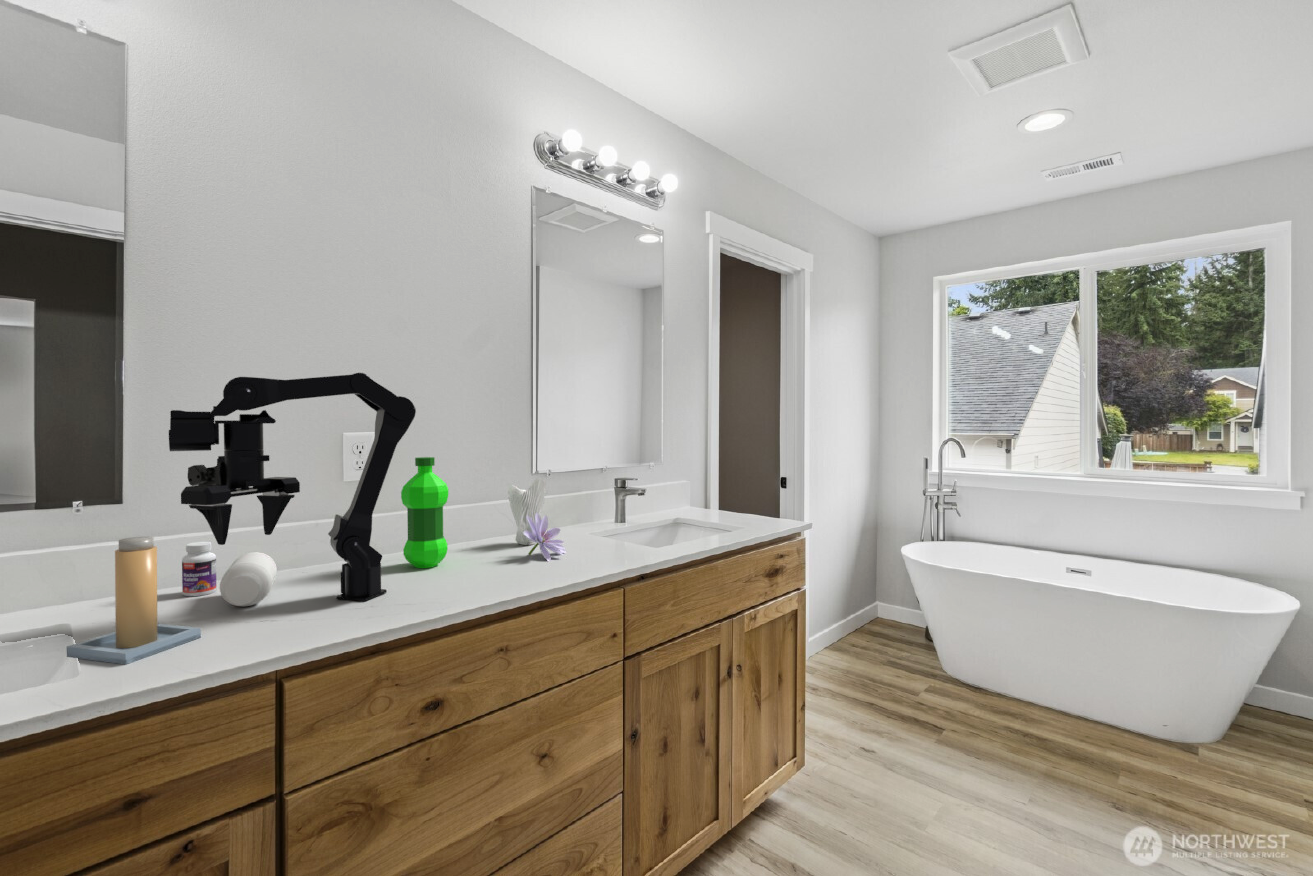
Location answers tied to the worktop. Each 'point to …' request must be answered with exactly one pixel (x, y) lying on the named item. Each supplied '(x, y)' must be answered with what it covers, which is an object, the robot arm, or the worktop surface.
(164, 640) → the tray
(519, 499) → the shell sculpture
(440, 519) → the plastic bottle
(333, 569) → the worktop surface
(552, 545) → the water lily
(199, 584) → the pill bottle
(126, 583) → the cylinder
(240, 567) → the pill bottle
